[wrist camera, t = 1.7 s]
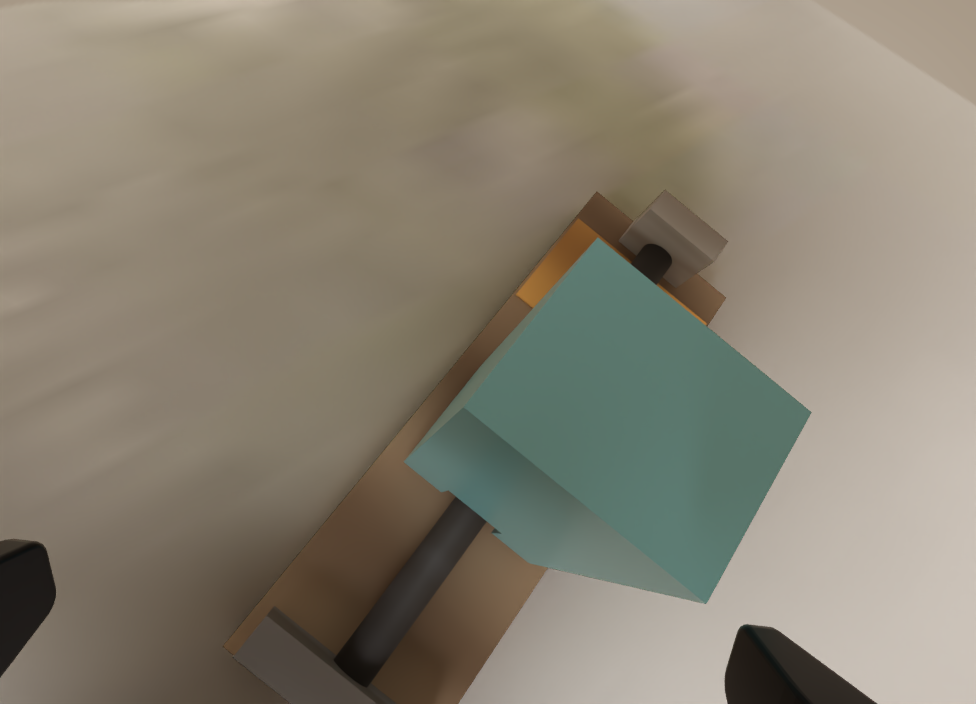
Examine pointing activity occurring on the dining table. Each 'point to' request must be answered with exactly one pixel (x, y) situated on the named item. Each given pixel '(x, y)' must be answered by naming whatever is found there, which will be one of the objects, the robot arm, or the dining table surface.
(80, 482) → the dining table surface
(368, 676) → the cord board
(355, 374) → the dining table surface
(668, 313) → the teal rectangular block
